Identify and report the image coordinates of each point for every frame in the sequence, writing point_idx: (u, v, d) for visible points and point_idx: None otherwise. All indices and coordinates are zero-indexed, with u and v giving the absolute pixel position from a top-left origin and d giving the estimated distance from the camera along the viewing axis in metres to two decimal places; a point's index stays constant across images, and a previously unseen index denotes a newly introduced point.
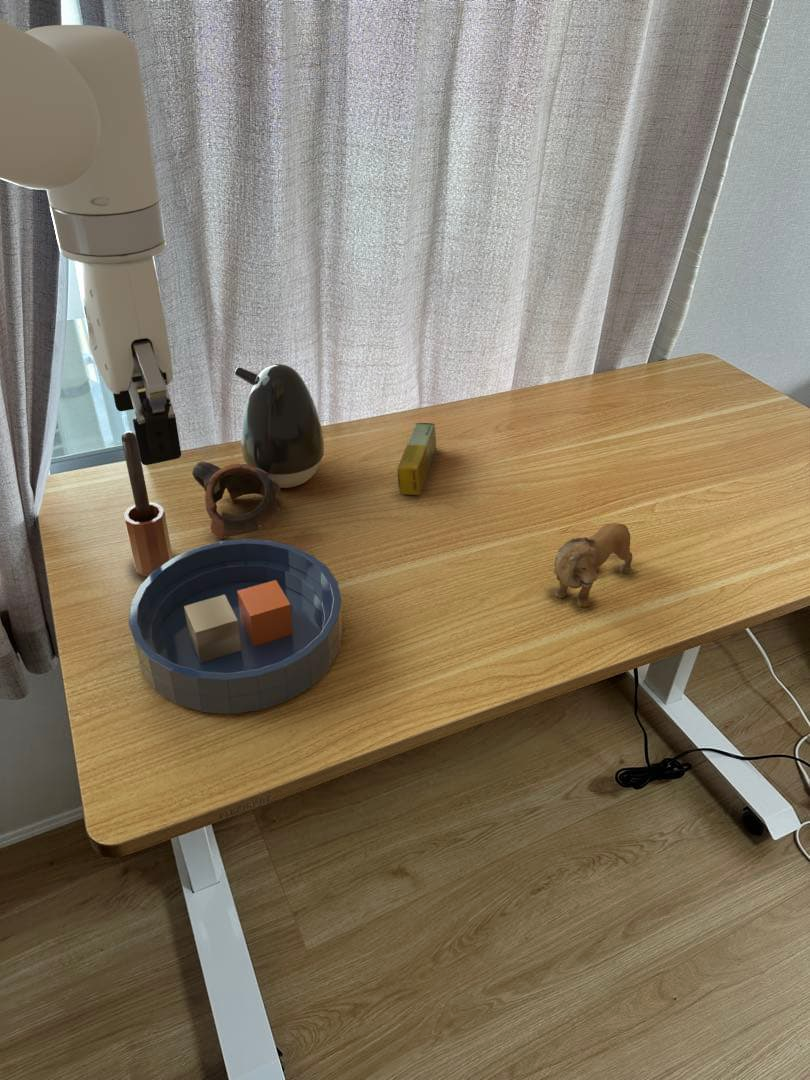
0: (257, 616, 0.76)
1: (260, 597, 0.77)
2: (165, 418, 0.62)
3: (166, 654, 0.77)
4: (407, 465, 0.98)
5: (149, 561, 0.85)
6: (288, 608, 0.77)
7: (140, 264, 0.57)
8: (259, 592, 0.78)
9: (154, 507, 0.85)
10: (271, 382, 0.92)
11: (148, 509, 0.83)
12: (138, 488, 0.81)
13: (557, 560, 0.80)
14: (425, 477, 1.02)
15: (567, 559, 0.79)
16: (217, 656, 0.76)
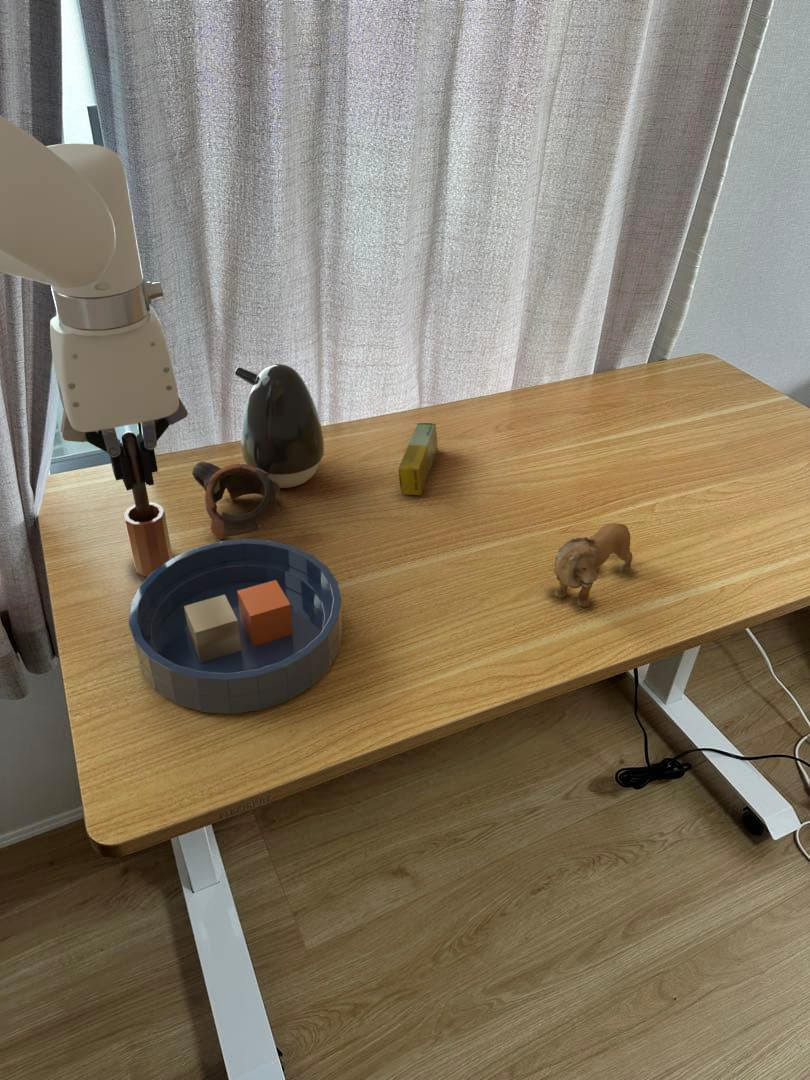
0: (257, 616, 0.76)
1: (260, 597, 0.77)
2: (106, 451, 0.77)
3: (166, 654, 0.77)
4: (409, 465, 0.98)
5: (149, 561, 0.85)
6: (288, 608, 0.77)
7: (56, 331, 0.68)
8: (259, 592, 0.78)
9: (154, 507, 0.85)
10: (271, 382, 0.92)
11: (148, 509, 0.83)
12: (138, 488, 0.81)
13: (557, 560, 0.80)
14: (426, 477, 1.02)
15: (567, 559, 0.79)
16: (217, 656, 0.76)
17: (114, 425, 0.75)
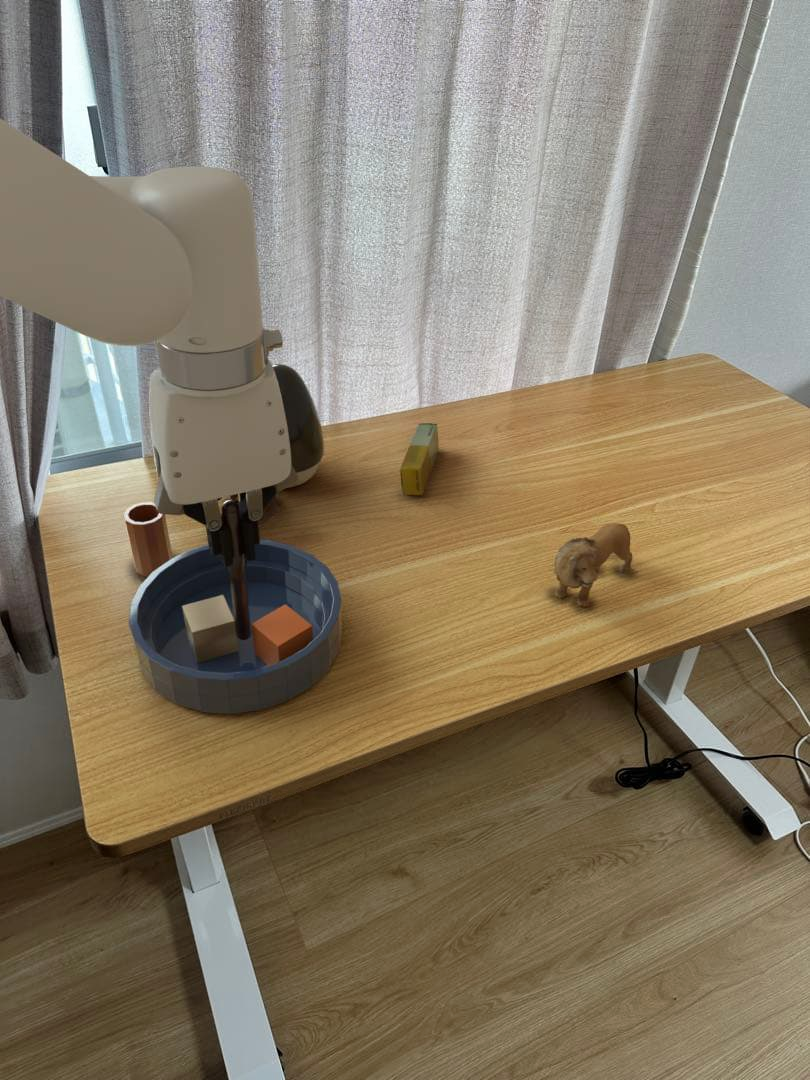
0: (284, 645, 0.73)
1: (279, 625, 0.74)
2: None
3: (166, 654, 0.77)
4: (410, 465, 0.98)
5: (149, 561, 0.85)
6: (310, 630, 0.75)
7: (159, 390, 0.57)
8: (275, 620, 0.75)
9: (154, 507, 0.85)
10: None
11: (244, 585, 0.71)
12: (236, 562, 0.69)
13: (557, 560, 0.80)
14: (428, 477, 1.02)
15: (567, 559, 0.79)
16: (214, 656, 0.76)
17: (218, 496, 0.63)
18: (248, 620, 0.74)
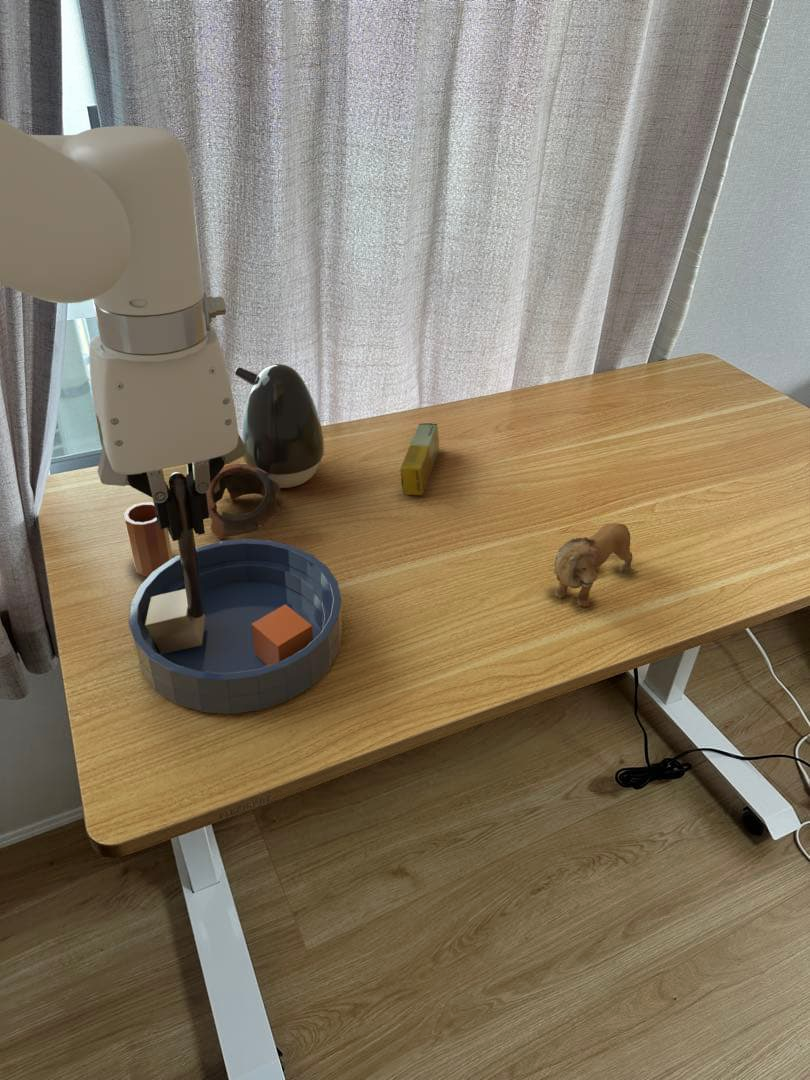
0: (284, 645, 0.73)
1: (279, 625, 0.74)
2: (151, 496, 0.65)
3: (166, 654, 0.77)
4: (410, 465, 0.98)
5: (149, 561, 0.85)
6: (310, 630, 0.75)
7: (98, 355, 0.56)
8: (275, 620, 0.75)
9: (154, 507, 0.85)
10: (271, 382, 0.92)
11: (195, 560, 0.71)
12: (185, 536, 0.69)
13: (557, 560, 0.80)
14: (428, 477, 1.02)
15: (567, 559, 0.79)
16: (177, 649, 0.76)
17: (162, 466, 0.62)
18: (200, 597, 0.73)
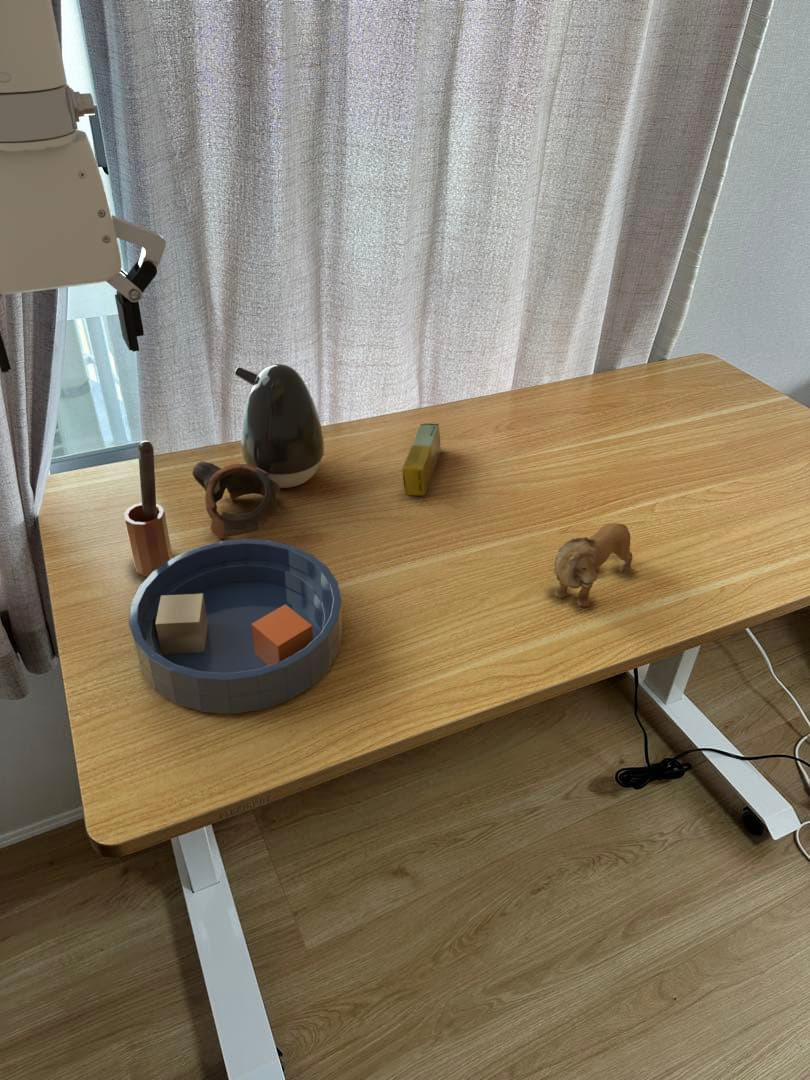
0: (284, 645, 0.73)
1: (279, 625, 0.74)
2: None
3: (166, 654, 0.77)
4: (413, 466, 0.98)
5: (149, 561, 0.85)
6: (310, 630, 0.75)
7: None
8: (275, 620, 0.75)
9: None
10: (271, 382, 0.92)
11: (154, 514, 0.83)
12: (148, 494, 0.80)
13: (557, 560, 0.80)
14: (430, 478, 1.02)
15: (567, 559, 0.79)
16: (179, 652, 0.77)
17: (36, 286, 0.58)
18: None
